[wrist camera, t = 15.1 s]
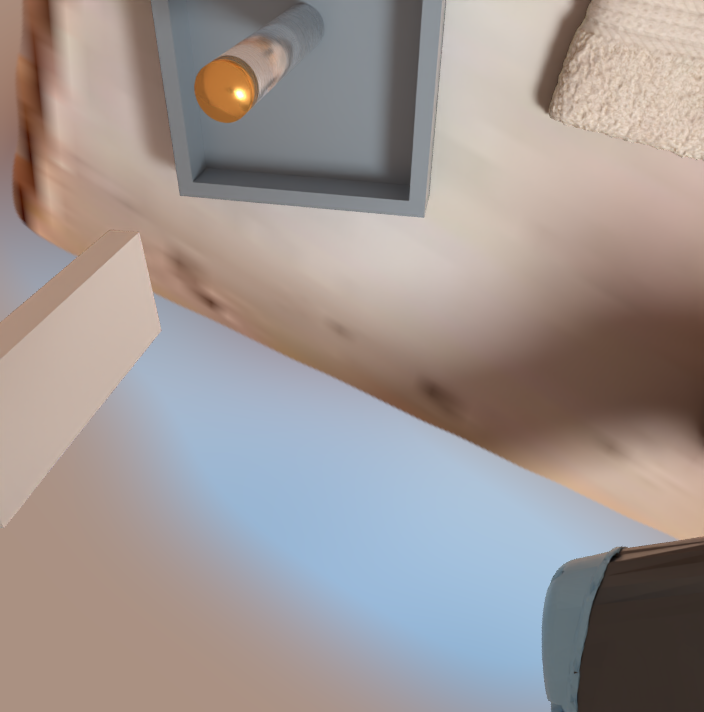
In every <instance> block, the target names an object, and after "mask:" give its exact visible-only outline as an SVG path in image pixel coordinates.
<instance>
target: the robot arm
mask: <svg viewBox="0 0 704 712" xmlns="http://www.w3.org/2000/svg"><path fill="white" fill-rule="evenodd" d="M160 332H161V326H160V322H159V317H158V313H157V309H156V304H155V300H154V295H153V291H152V286H151V282H150V277H149V273H148V269H147V264H146V260H145V255H144V251H143V246H142V242H141V237H140V233H139V232H132V231H116V230H109V231H108V232H107V233H105V234H104V235H103V236H102V237H101V238H100V239H98V240H97V241H96V242H95V243H94V244H92V245H91V246H90V247H89V248H88V249H87V250H85V251H84V252H83V253H82V254H81V255H79V256H78V257H77V258H76V259H75V260H73V261H72V262H71V263H70V264H69V265H68V266H66V267H65V268H64V269H63V270H62V271H61V272H59V273H58V274H57V275H56V276H55V277H53V278H52V279H51V280H50V281H49V282H48V283H46V284H45V285H44V286H43V287H42V288H40V289H39V290H38V291H37V292H36V293H34V294H33V295H32V296H31V297H30V298H29V299H27V300H26V301H25V302H24V303H23V304H22V305H20V306H19V307H18V308H17V309H16V310H14V311H13V312H12V313H11V314H10V315H8V316H7V317H6V318H5V319H4V320H3V321H1V322H0V528H5V526H6V525H7V524H8V523H9V521H10V520H11V518H13V516H14V515H15V513H16V512H17V511H18V510H19V509H20V507H21V506H22V505H23V504H24V502H25V501H26V500H27V499H28V497H29V496H30V495H31V494H32V492H33V491H34V490H35V489H36V487H37V486H38V485H39V484H40V482H41V481H42V480H43V478H44V477H45V476H46V475H47V474H48V472H49V471H50V470H51V469H52V467H53V466H54V465H55V464H56V462H57V461H58V460H59V458H60V457H61V456H62V455H63V453H64V452H65V451H66V450H67V448H68V447H69V446H70V445H71V443H72V442H73V441H74V440H75V438H76V437H77V436H78V435H79V433H80V432H81V431H82V430H83V428H84V427H85V426H86V424H87V423H88V422H89V421H90V420H91V418H92V417H93V416H94V414H95V413H96V412H97V411H98V409H99V408H100V407H101V406H102V404H103V403H104V402H105V401H106V399H107V398H108V397H109V396H110V394H111V393H112V392H113V391H114V389H115V388H116V387H117V385H118V384H119V383H120V382H121V381H122V379H123V378H124V377H125V376H126V374H127V373H128V372H129V371H130V369H131V368H132V367H133V366H134V364H135V363H136V362H137V361H138V359H139V358H140V357H141V356H142V354H143V353H144V351H146V349H147V348H148V347H149V346H150V344H151V343H152V342H153V340H154V339H155V338H156V337H157V335H158V334H159V333H160ZM542 660H543V673H544V682H545V689H546V694H547V698H548V700H549V701H550V702H551V712H704V536H703V537H697V538H691V539H685V540H679V541H673V542H666V543H659V544H652V545H646V546H639V547H632V548H628V547H616V548H614V549H612V550H611V551H609V552H605V553H601V554H597V555H593V556H588V557H583V558H578V559H574V560H571V561H569V562H567V563H565V564H564V565H562V566H561V567H560V568H559V569H558V570H557V571H556V573H555V575H554V576H553V578H552V580H551V583H550V586H549V587H548V590H547V593H546V597H545V603H544V609H543V621H542Z"/></svg>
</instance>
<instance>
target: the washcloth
mask: <svg viewBox="0 0 704 712" xmlns="http://www.w3.org/2000/svg"><path fill="white" fill-rule="evenodd" d="M549 115H550V118H552V119H554V120H556V121H562V122H563V124H564V125H566V126H570V125H573V126H574V127H576V128H581V129H584V130H587V131H593V132H599V133H605V134H606V135H608V136H609V137H614V138H622V139H624V141H628V142H631V143H640V144H644V145H650V146H652V147H654V148H656V149H663V150H668V151H671V152H673V153H675V154H677V155H678V156H680V157H682V158H684V157H686V156H687V157H688V158H694V159H696V160H697V159H701V160H703V161H704V0H592V1H591V3H590V4H589V6H588V8H587V13H586V17H585V18H584V20H583V22H582V24H581V26H579V27H578V28H577V30H576V33H575V35H574V37H573V40H572V42H571V44H570V46H569V50H568V53H567V57H566V58H565V60H564V62H563V68H562V71H561V73H560V74H559V76H558V84H557V86H556V87H555V91H554V93H553V96H552V101H551V103H550V107H549Z"/></svg>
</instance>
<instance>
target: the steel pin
mask: <svg viewBox="0 0 704 712" xmlns="http://www.w3.org/2000/svg"><path fill="white" fill-rule="evenodd" d="M323 34H324V22H323V19H322V17H321V15H320V13H319V12H318V11H317V10H316V9H315V8H314V7H313V6H311V5H308V4H297V5H294V6H293V7H291V8H290V9H288V10H287V11H285V12H284V13H282V14H281V15H279V16H278V17H276V18H275V19H273V20H272V21H270V22H269V23H267V24H266V25H264V26H263V27H262V28H260V29H259V30H257V31H256V32H254V33H253V34H251V35H250V36H248V37H247V38H245V39H244V40H242V41H241V42H239V43H238V44H236V45H235V46H234V47H232V48H231V49H229V50H228V51H226V52H225V53H223V54H222V55H220V56H219V57H217V58H216V59H214V60H213V61H211V62H210V63H208V64H207V65H205V66H204V67H203V68H202V69H201V70H200V71H199V72H198V74H197V76H196V79H195V84H194V91H195V96H196V99H197V102H198V104H199V106H200V107H201V109H202V110H203V111H204V112H205V113H206V114H207V115H208V116H209V117H211V118H212V119H214V120H216V121H219V122H223V123H231V122H235V121H237V120H239V119H241V118H242V117H243V116H244V115H245V114H246V113H247V112H248V111H249V110H250V109H251V108H252V107H253V106H254V105H255V104H256V103H258V102H259V101H260V100H261V99H262V98H263V97H264V96H265V95H266V94H267V93H268V92H269V91H270V90H271V89H272V88H273V87H274V86H275V85H276V84H277V83H278V82H279V81H280V80H281V79H282V78H283V77H284V76H285V75H286V74H287V73H288V72H289V71H291V70H292V69H293V68H294V67H295V66H296V65H297V64H298V63H299V62H300V61H301V60H302V59H303V58H304V57H305V56H306V55H307V54H308V53H309V52H310V51H311V50H312V49H313V48H314V47H315V46H316V45H317V44H318V43H319V42H320V41H321V39H322V37H323Z"/></svg>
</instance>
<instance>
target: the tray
mask: <svg viewBox="0 0 704 712" xmlns="http://www.w3.org/2000/svg"><path fill="white" fill-rule="evenodd" d="M297 4H308V5H311V6H313V7H314V8H315V9H316V10H317V11H318V12H319V13H320V15H321V17H322V19H323V22H324V34H323V37H322V39H321V41H320V42H319V43H318V44H317V45H316V46H315V47H314V48H313V49H312V50H311V51H310V52H309V53H308V54H307V55H306V56H305V57H304V58H303V59H302V60H301V61H300V62H299V63H298V64H297V65H296V66H295V67H294V68H293V69H292V70H291V71H289V72H288V73H287V74H286V75H285V76H284V77H283V78H282V79H281V80H280V81H279V82H278V83H277V84H276V85H275V86H274V87H273V88H272V89H271V90H270V91H269V92H268V93H267V94H266V95H265V96H264V97H263V98H262V99H261V100H260V101H259V102H258V103H256V104H255V105H254V106H253V107H252V108H251V109H250V110H249V111H248V112H247V113H246V114H245V115H244V116H243V117H242V118H241V119H239V120H237V121H235V122H231V123H223V122H219V121H216V120H214V119H212V118H211V117H209V116H208V115H207V114H206V113H205V112H204V111H203V110H202V109H201V107H200V106H199V104H198V102H197V99H196V96H195V91H194V84H195V79H196V76H197V74H198V72H199V71H200V70H201V69H202V68H203V67H204V66H205V65H207V64H208V63H210V62H211V61H213V60H214V59H216V58H217V57H219V56H220V55H222V54H223V53H225V52H226V51H228V50H229V49H231V48H232V47H234V46H235V45H236V44H238V43H239V42H241V41H242V40H244V39H245V38H247V37H248V36H250V35H251V34H253V33H254V32H256V31H257V30H259V29H260V28H262V27H263V26H264V25H266V24H267V23H269V22H270V21H272V20H273V19H275V18H276V17H278V16H279V15H281V14H282V13H284V12H285V11H287V10H288V9H290V8H291V7H293V6H294V5H297ZM151 6H152V13H153V19H154V26H155V32H156V39H157V46H158V52H159V59H160V66H161V72H162V79H163V86H164V92H165V99H166V106H167V112H168V119H169V126H170V132H171V139H172V146H173V152H174V159H175V165H176V172H177V179H178V185H179V192H180V196H190V197H201V198H212V199H223V200H234V201H245V202H256V203H267V204H278V205H289V206H301V207H312V208H323V209H334V210H345V211H356V212H367V213H378V214H389V215H400V216H412V217H423V218H424V216H425V212H426V207H427V203H428V198H429V192H430V180H431V169H432V157H433V146H434V134H435V123H436V111H437V100H438V88H439V77H440V65H441V54H442V42H443V31H444V19H445V8H446V0H151Z"/></svg>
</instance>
